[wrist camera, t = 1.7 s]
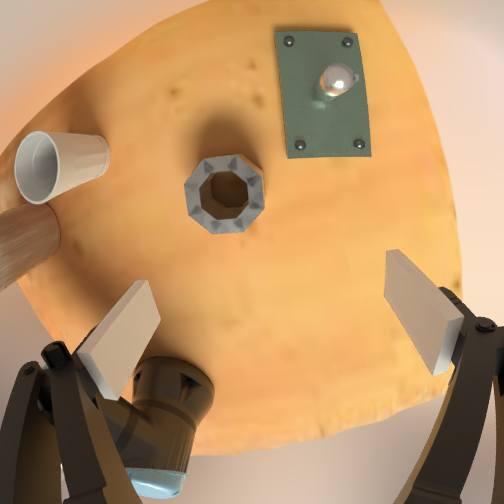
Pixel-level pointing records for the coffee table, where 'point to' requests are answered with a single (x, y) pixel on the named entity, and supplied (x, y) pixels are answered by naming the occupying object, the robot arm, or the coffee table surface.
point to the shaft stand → (323, 94)
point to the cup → (58, 163)
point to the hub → (211, 210)
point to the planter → (26, 240)
